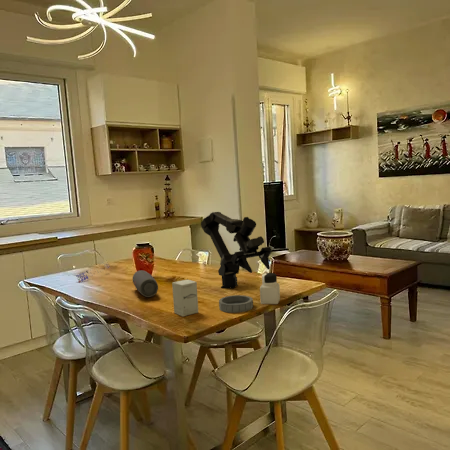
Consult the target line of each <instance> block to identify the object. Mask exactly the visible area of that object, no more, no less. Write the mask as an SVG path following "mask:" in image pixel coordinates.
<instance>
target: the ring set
mask: <svg viewBox="0 0 450 450" xmlns="http://www.w3.org/2000/svg"><path fill="white" fill-rule="evenodd" d="M101 264H105V265H104V268H107V269H109V268H110V267H111V266H110V265H109V261H107V260H106V259H105V260H104V261H103V262H102V263H101ZM89 270H90V271H92V269H89ZM89 270H85V271H84V272H82V273H79V274H76V278H77V280H78V282H77V283H79V284H80V283H81V282H83V281H86V280H88V279H89V275H90V274H91V277H93V276H94V275H96V274H95V273H96V271H97V273H99V271H98V269H96V270H95V271H94V270H93V274H92V273H91V272H89ZM102 271H104V269H101V272H102ZM86 274H87V275H86Z"/></svg>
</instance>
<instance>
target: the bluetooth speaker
mask: <svg viewBox="0 0 450 450" xmlns="http://www.w3.org/2000/svg"><path fill="white" fill-rule="evenodd" d="M132 283H133V285H134V287H135V289H136V290H137V291H138V292H139V294H141V296H143V297H145V298H151V297H154V296H155V295H157V293H158V290H159V284H158V282H157V280H156V279H155V278H154V277H153V276H152V274H151V273H149V272H147V271H146V270H144V269H143V270H140V269H139V270H137V271H136V272H134V273H133V275H132Z"/></svg>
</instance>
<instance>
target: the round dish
mask: <svg viewBox="0 0 450 450" xmlns="http://www.w3.org/2000/svg"><path fill="white" fill-rule="evenodd" d="M253 302H254V299H253V297H251V296H249V295H245V294H244V295H243V294H242V295H240V294H238V295H237V294H236V295H235V294H234V295H227V296H224V297H223V296H222V298H219V299H218V308H219V310H220V311H221V312H224V313H231V314H237V313H245V312H248V311H250V310H253V308H254V303H253Z"/></svg>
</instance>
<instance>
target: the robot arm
mask: <svg viewBox="0 0 450 450" xmlns="http://www.w3.org/2000/svg"><path fill="white" fill-rule="evenodd" d="M220 225H222V226H223V227H225V229H226V231H227V232H228V233H229V234H235V235H233V236H234V237H233V242H237V244H238V246H239V251H234V253H230V251H229V250H228V247H227V245H226V243H225V241H224V239H223V237H222V236H221V234H220V230H219V228H220ZM200 227H201V229H202V230H203V232H204V234H206V235H208V236H209V237H210V239H211V241H212V244H213V245H214V247H215V250H216V251H217V253H218V256H219V257H220V265H219V266H220V267H219V268H218V270H217V271H218V275H219V276H220V277H221V286H220V288H221V289H235V288H236V287H238V286H239V285H238V284H239V283H238V277H237V274H239V272H240V267H241V268H243V269H244V270H246V271H247V272H249V273H250V274H252V273H253V269H252V267H251V266H250V264H249V262H248V260H247V259H251V258H254V257H255V258H257V257H259V259H260V262H261V263H262V265H264V267H265V268H266V269H267V270H268V271H269V270H270V269H271V267H270V259H269V257H270V255H271V254H272V253H273V250H272V247H271V246H264V247H261V248H260V250H259V246H262V245H263V244H264V243H265V240H264V238H263V237H262V236H257V237H256V238H255V237H254V238H250V237H251V235H252V233H254V230H255V229H256V227H257V223H256V221H255V220H254V219H252V218H250V217H248V216H244V217H243V219H238V218H237V219H236V218H232V217H229V216H228V215H225V214H223V213H222V212H220V211H212V212H210V213H209V215H207V216H206V217H204V218H203V219H202V221H201V222H200ZM258 250H259V251H258Z"/></svg>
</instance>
